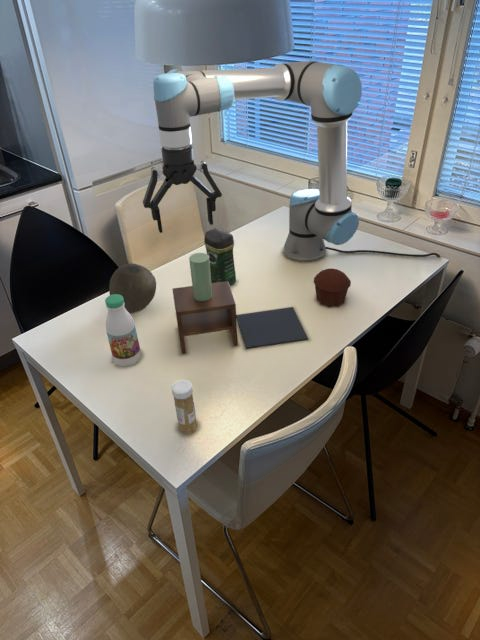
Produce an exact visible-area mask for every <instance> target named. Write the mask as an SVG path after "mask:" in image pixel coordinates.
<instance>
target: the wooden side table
mask: <svg viewBox="0 0 480 640" xmlns="http://www.w3.org/2000/svg"><path fill="white" fill-rule="evenodd" d="M171 290H172V296H173V303H174V309H175V311H174V312H175V316H176V322H177V324H176V325H177V330H178V338H179V343H180V344H179V345H180V351H181V355H185V354H187V350H186V342H185V337H190V336H197V335H203V334H209V333H210V334H211V333H217V332H223V331H229V334H230V338H231V342H232V344H233V347H238V346H239V341H238V321H237V318H236V315H237V303H236V301H235V298H234V294H233V291H232V289H231V286H230V285H229V282H228V281H225V282H217V283H212V295H213V296H212V298H211V299H209V300H207V301H197V300H195V299H194V296H193V287H192V285H189V286H182V287H181V286H180V287H173V288H172V289H171Z"/></svg>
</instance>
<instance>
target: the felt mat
mask: <svg viewBox="0 0 480 640" xmlns="http://www.w3.org/2000/svg"><path fill="white" fill-rule="evenodd" d="M236 320H237V325H238V328H239V330H240V334H241V337H242V340H243V344H244V346H245V349H246V350H251V349H257V348H263V347H269V346H275V345H282V344H288V343H295V342H301V341H307V340H309V337H308V335H307V334H306V331H305V329H304V327H303V325H302V323H301V321H300V319H299V317H298V314H297V313H296V311H295V308H294V307H293V306H291V307H289V306H288V307H284V308H275V309H270V310H261V311H255V312H249V313H247V312H246V313H240V314H236Z"/></svg>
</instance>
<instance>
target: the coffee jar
mask: <svg viewBox="0 0 480 640" xmlns="http://www.w3.org/2000/svg"><path fill="white" fill-rule="evenodd" d="M203 243H204V247H205V251H206V254H207V255H209V260H210V272H211V283H217V282H225V281H228V282H229V285H230V287H232V286H233V285H234V284H236V282H237V276H236V267H235V266H236V265H235V258H234V246H235V240H234V236H233V234H231V233H230V232H228V231H225V230H223V229H220V228H216V227H214V228H211V229H210V230H206V232H205V234H204V239H203Z"/></svg>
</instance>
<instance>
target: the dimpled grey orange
mask: <svg viewBox="0 0 480 640" xmlns="http://www.w3.org/2000/svg"><path fill="white" fill-rule="evenodd" d="M108 289H109V290H108V291H109V292H108V293H109V296H110V295H113V294H119V295H121V296H122V297H123V299H124V307H125V309H126V310H127V311H128V313H129V314H134V313H138V312H141V311H143V310H144V309H146V308H147V307H148V306H149V305H150V303H151V302H152V301H153V300H154V297H155V295H156V291H157V280H156V277H155V275H154V274H153V273H152V271H150V269H148V268H147V267H145V266H143V265H141V264H138V263H125V264H123V265H121V266H119V267H118V268H116V270H115V271H114V272H113V273H112V275H111V277H110V280H109V287H108Z"/></svg>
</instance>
